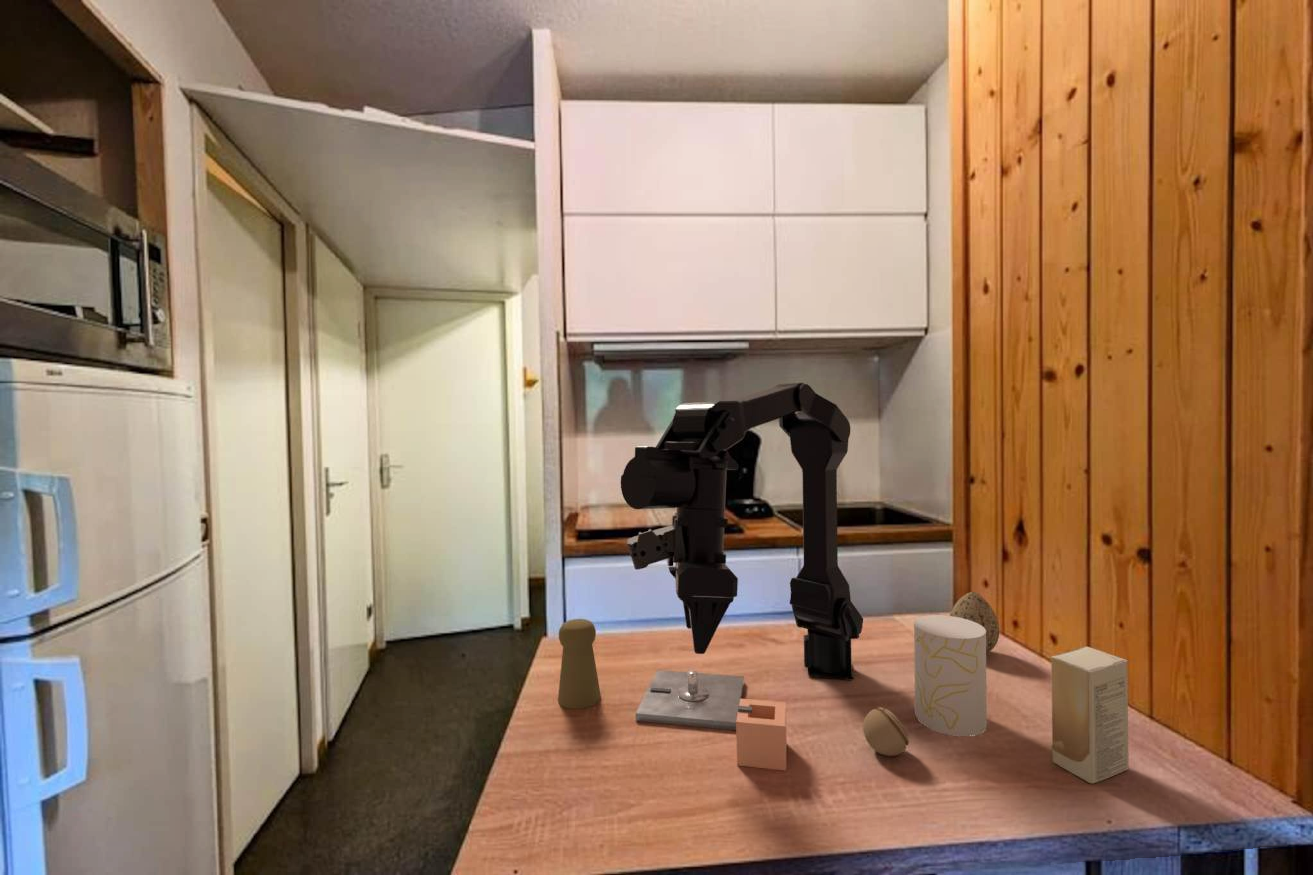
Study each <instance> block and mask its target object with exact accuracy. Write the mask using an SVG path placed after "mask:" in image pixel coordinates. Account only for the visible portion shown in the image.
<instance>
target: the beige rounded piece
mask: <svg viewBox="0 0 1313 875" xmlns="http://www.w3.org/2000/svg"><path fill="white" fill-rule="evenodd" d="M862 729H863V730H862V731H863V734H864V738H865V740H866V742H867V743H868V745H869V746H870V747H871V748H872V749H873V750H874V751H875V752H877V753H879V754H881V755H882V756H888V757H890V756H891V757H892V756H897V755H900V754H902V753H903V752H904V751H906V749H907V746H909V743H910V739H909V733H908V730H907V729H906V727H905V726H904V725H903V723H902V722H901V720H900V719H899V718H898V717H897V716H896V715H895V714H894V713H893V712H892V711H891V710H889V709H886V708H884V707H877V708H876V709H875V708H874V709H872V710H870V711H869V712H868V713H867V715H866V716H865V718H864V721H863V728H862Z"/></svg>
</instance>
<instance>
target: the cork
mask: <svg viewBox="0 0 1313 875" xmlns="http://www.w3.org/2000/svg"><path fill="white" fill-rule="evenodd" d="M596 637H597V632H596V626H595V625H594V623H593V622H592V621H591V620H588V619H585V618H575V619H569V620H567V621H565V622H564V623H562V624H561V626H560V628H559V630H558V640H559V643H560V645H561V646H562V654H561V665H560V675H559V683H558V684H559V686H558V695H557V702H558V704H559V705H560V706H562V707H563V708H566V709H570V708H571V709H570V710H581V709H586V708H589V707H592V706H594V705H596V704H598V703H599V701H601V697H602V696H601V689H600V684H599V678H598V670H597V664H596V659H595V653H594V652H595V651H594V646H593V644H594V642H595V640H596ZM578 708H580V709H578Z"/></svg>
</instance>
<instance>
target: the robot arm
mask: <svg viewBox="0 0 1313 875" xmlns="http://www.w3.org/2000/svg"><path fill="white" fill-rule="evenodd" d="M674 411H675V413H674V416H673V418H672V420H671V421H670V423H669V425H668V426H667V428H666V430H665V431H664V433H663V435H662V436H661V437H660V439H659V441H658V443H657V444H656V446H645V445H644V446H643V445H639V446H638V445H637V446H635V448H634V457H632V458H631V459H630V460H629V461H628V462H627V464H626V465H625V467H624V469H623V472H622V475H621V476H620V490H621V494H622V498H623V500H624V501H625V502H626V504H627V505H628V506H629V507H631V509H634V510H654V509H657V510H659V509H676V512H674V514H673V515H672V517H671V518H672V519H671V522H672V523H671V525H668V526H665V527H661V528H657V529H654V530H653V529H651V528H649V529H648V531H644V532H641V531H639V532H638V535H635V536H632V537H629V538H627V541H626V545H627V548H628V551H629V554H630V558H631V561H632V564H633V567H634V569H635V570H642V569H645V568H647V567H648V566H649V565H652V564H655V563H658V562H663V561H664V560H666V561H667V566H668V571H669V573H670V574H671V575H672V576H673V577H672V578H674V579H675V592H676V593H675V594H676V596H677V598H678V599H679V600H680V601H682V606H683V612H684V619H685V625H686V628H687V629H690V630H691V637H692V644H693V650H694V653H695V654H697V655H698V654H699V655H703V654H705V653H706V652H707V649H708V648H709V646H710V643H711V641H712V640H713V639H714V638H713V637H714V635H715V634H716V631H717V629H718V627H719V625H720V623H721V621H722V620H723V617H724V616H725V615H726V612H727V610H728V609H729V606H730V605H731V603H733V602H734V599H735V598H736V597H738V586H739V584H738V583H739V578H738V576H736V574H735V573H734V572H733V571H732V570H731V569H730V568H729V567H728V566H727V565H726V564H727V554H726V553H725V552H724V543H725V542H724V541H725V540H724V539H725V528H727V529H728V522H729V521H728V520H729V519H728V518H727V517H726V516H725V515H726V496H727V495H726V494H727V493H726V492H727V489H726V488H727V471H733V470H734V471H737V470H738V469H739V464H738V462H736V460H735V459H733V457H731V455H730V454H729V451H728V450H729V449H730V448H732V447H733V446H734V445H736V444H738V443H740V442H741V441H742V440H743V439H744V438H745V436H746V433H747V432H748V431H749V430H751V429H753V428H756V427H758V426H759V427H760V426H762V425H764V424H767V423H770V422H773V421H775V420H778V422H779V423H778V426H779V427H780V429H781V430H783V432H784V433H785V435H787V437H788V438H789V443H790V451H791V454H792V456H793V457H794V458H795V460H796V462H797V464H798V465H799V467H800V468H801V471H802V472H801V473H802V532H803V534H802V535H803V536H802V537H803V544H802V546H803V550H802V551H803V565H802V568H801V569H800V570H799V572H798V574H797V576H796V577H792V578H791V579H790V582H789V588H790V599H789V605H791V610H792V613H793V616H794V620H795V624H796V627H797V628H801V629H806V630H807V634H804V635H803V664H804V668H806V669H807V676H808V677H813V678H821V679H823V678H825V679H837V680H838V679H839V680H854V672H853V668H852V667H853V666H852V664H853V663H852V640H857V639H859V638H860V634H862V631H863V627H864V626H863V623H864V618H863V616H862V614H860V612H859V610H858V609H857V608H856V606H855V605H854V603H853V602H852V599H851V592H850V584H849V581H848V580H847V578H846V576H844V573H843V572H842V570H841V569H840V567H839V564H838V562H839V557H838V553H839V552H838V548H839V546H838V489H837V488H838V486H837V485H838V483H837V482H838V481H837V480H838V478H837V477H838V475H837V472H838V468H839V466H840V465H841V464H842V461H843V460H844V459H845V457H846V456H847V453H848V450H849V440H850V436H851V424H850V421H849V419H848V418H847V416H845V414H844V413H843V412H842V410H841V409H840V408H839V407H838V405H837V404H836V403H833V402H832V401H831V400H828V399H826V398H825V397H823V396H821V395H819V394H818V393H816V392H815V390H814V389H813V388H812V387H811V386H810V385H809V384H808V383H805V382H791V383H779V384H777V385H776V386H773V387H771V388H768V389H765V390H761V391H757V392H754V393H752V394H748V395H745V396H742V397H741V396H740V397H737V398H734V399H731V400H719V401H700V402H699V401H697V402H684V403H682V404H680V405H678V406H677V407H676V408H675V410H674Z"/></svg>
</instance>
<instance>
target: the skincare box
mask: <svg viewBox="0 0 1313 875" xmlns="http://www.w3.org/2000/svg"><path fill="white" fill-rule="evenodd" d="M1050 661H1051V663H1050V664H1051V665H1050V667H1051V670H1050V673H1051V721H1052V722H1051V728H1052V729H1051V730H1052V731H1051V733H1052V734H1051V736H1052V737H1051V738H1052V739H1051V740H1052V741H1051V742H1052V762H1053V763H1054V764H1055V765H1057V766H1059V767H1061V768H1062V769H1065V770H1066V771H1068V772H1069V773H1072V774H1074V775H1075V776H1077V777H1078V778H1081V779H1082V780H1084V781H1085V782H1087V783H1089V784H1095V783H1099V782H1101V781H1104V780H1106V779H1109V778H1111V777H1113V776H1114V777H1115V776H1116V775H1119V774H1121V773H1123V772H1125V771H1127V770H1129V767H1130V766H1129V765H1130V764H1129V760H1130V759H1129V756H1130V755H1129V754H1130V753H1129V696H1128V695H1129V694H1128V693H1129V689H1128V688H1129V687H1128V686H1129V685H1128V681H1129V680H1128V677H1129V676H1128V660H1127V659H1125V658H1121V657H1118V656H1117V655H1116V656H1115V655H1113V654H1110V653H1108V652H1105V651H1102V650H1099V649H1095V648H1092V647H1090V646H1084V647H1080V648H1075V649H1071V650H1068V651H1065V652H1062V653H1058V654H1055V655H1052V656H1051V658H1050Z"/></svg>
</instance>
